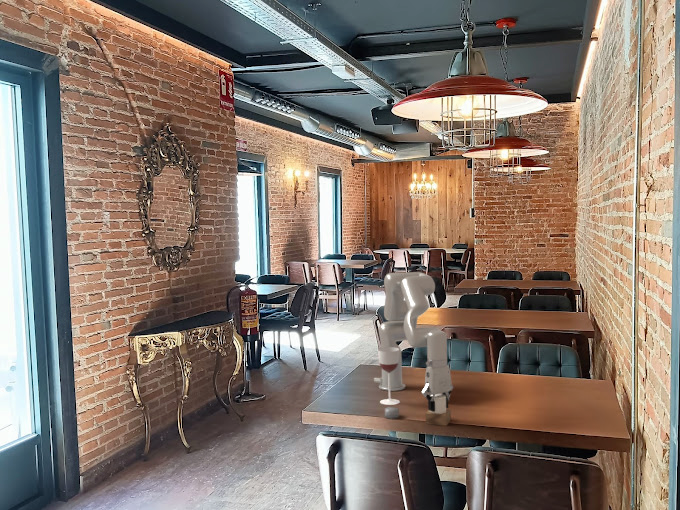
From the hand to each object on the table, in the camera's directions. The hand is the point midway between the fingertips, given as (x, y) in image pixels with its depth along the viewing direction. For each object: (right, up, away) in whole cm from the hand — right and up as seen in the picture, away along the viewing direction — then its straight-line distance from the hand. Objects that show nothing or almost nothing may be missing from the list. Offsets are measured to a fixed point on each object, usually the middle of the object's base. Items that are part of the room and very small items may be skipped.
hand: (438, 408), depth 222 cm
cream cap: (0, -1, 0) cm, 1 cm away
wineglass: (-16, -5, +28) cm, 33 cm away
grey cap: (-17, -5, +8) cm, 20 cm away
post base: (0, -5, 0) cm, 5 cm away
